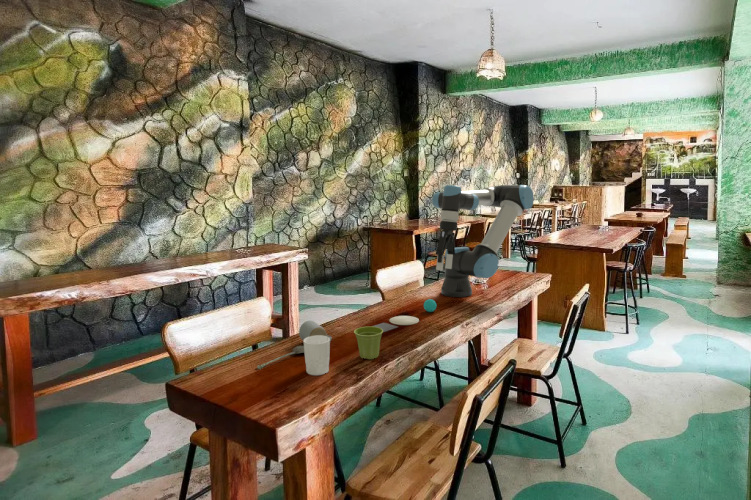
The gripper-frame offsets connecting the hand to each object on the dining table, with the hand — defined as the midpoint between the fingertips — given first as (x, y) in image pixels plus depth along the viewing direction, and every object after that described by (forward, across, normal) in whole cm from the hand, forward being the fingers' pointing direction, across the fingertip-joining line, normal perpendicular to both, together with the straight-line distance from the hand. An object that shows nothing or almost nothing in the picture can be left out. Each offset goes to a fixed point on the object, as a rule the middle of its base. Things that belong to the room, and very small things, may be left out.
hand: (443, 269), depth 208 cm
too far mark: (+23, +33, -12) cm, 41 cm away
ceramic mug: (+27, +57, -27) cm, 69 cm away
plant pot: (+26, +62, -4) cm, 67 cm away
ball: (+16, +6, -3) cm, 17 cm away
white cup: (+29, +78, -13) cm, 85 cm away
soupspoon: (+30, +74, -28) cm, 84 cm away
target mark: (+21, +22, -8) cm, 31 cm away
